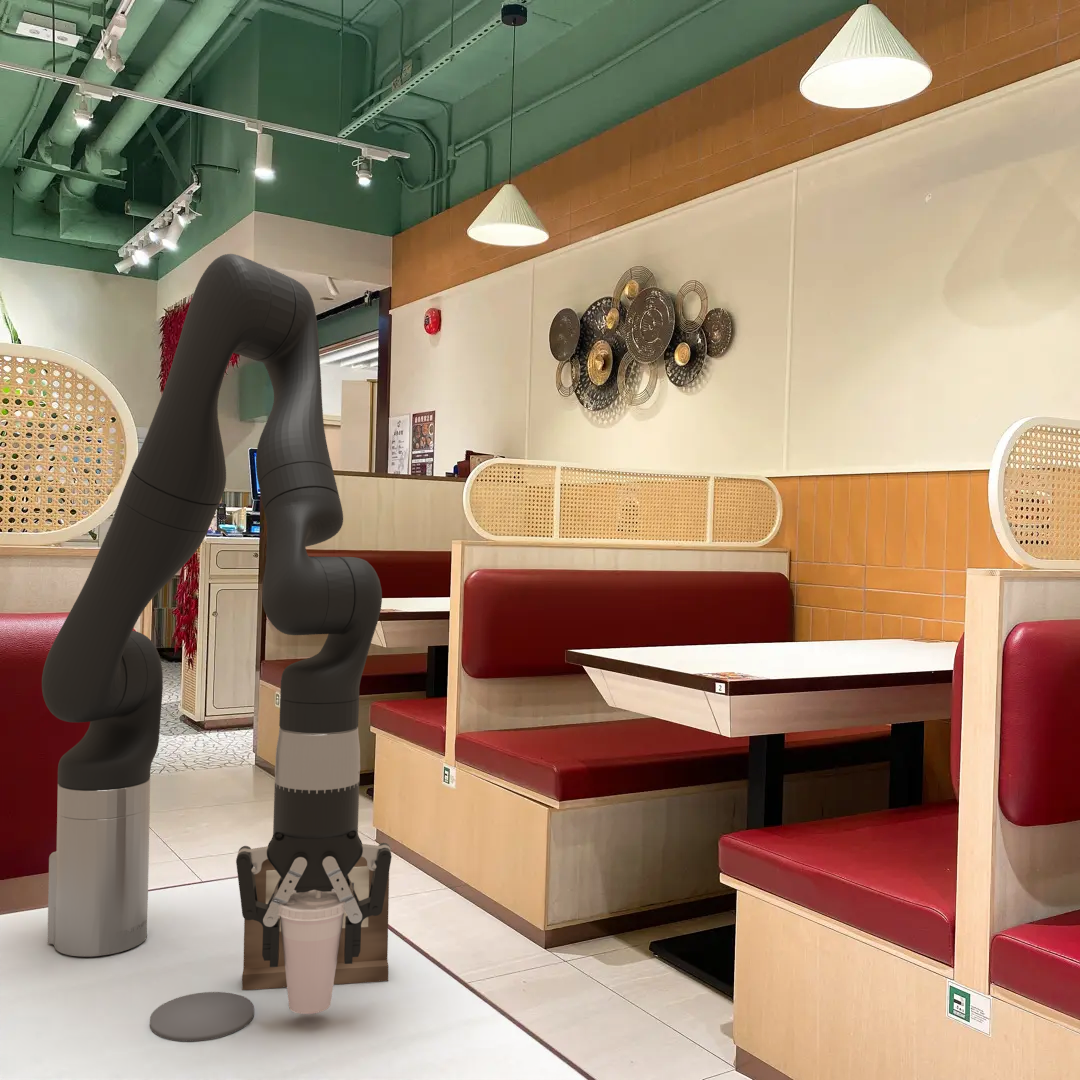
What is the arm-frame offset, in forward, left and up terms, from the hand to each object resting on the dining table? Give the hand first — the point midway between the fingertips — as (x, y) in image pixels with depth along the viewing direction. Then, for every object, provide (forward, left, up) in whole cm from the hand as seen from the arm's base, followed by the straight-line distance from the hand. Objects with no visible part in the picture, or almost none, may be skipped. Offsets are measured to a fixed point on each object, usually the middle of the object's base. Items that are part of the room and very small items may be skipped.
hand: (311, 961), depth 97 cm
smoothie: (0, 0, -4) cm, 4 cm away
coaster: (-9, -3, -5) cm, 11 cm away
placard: (-5, +9, -5) cm, 11 cm away
